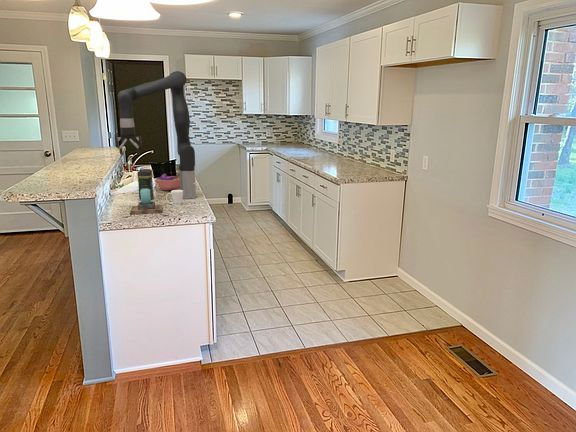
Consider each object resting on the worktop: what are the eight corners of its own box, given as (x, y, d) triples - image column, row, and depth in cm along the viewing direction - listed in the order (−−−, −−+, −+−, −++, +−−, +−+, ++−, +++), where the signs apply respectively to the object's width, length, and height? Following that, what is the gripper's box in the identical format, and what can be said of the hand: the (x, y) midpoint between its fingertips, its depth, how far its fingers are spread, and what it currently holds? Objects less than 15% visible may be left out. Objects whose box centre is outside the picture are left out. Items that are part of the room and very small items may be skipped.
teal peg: (151, 206, 242) (149, 188, 239) (151, 208, 237) (150, 190, 235) (141, 206, 240) (140, 189, 237) (141, 209, 236) (140, 191, 233)
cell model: (182, 193, 287) (181, 176, 284) (152, 192, 288) (150, 175, 285) (188, 188, 304) (187, 171, 301) (160, 187, 304) (158, 171, 301)
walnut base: (162, 207, 247) (162, 200, 246) (161, 213, 236) (161, 205, 234) (132, 209, 243) (132, 201, 242) (130, 214, 232) (129, 206, 231)
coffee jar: (151, 201, 263) (148, 170, 259) (137, 201, 263) (135, 170, 258) (155, 197, 273) (153, 168, 268) (142, 197, 273) (140, 168, 268)
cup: (184, 205, 253) (183, 191, 251) (166, 206, 250) (165, 192, 248) (183, 202, 260) (182, 189, 258) (166, 203, 257) (165, 190, 255)
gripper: (113, 127, 244) (116, 156, 248) (140, 126, 248) (142, 155, 252) (115, 126, 251) (117, 154, 255) (141, 126, 255) (143, 153, 259)
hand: (129, 154), depth 254 cm, fingers open, 8 cm apart
